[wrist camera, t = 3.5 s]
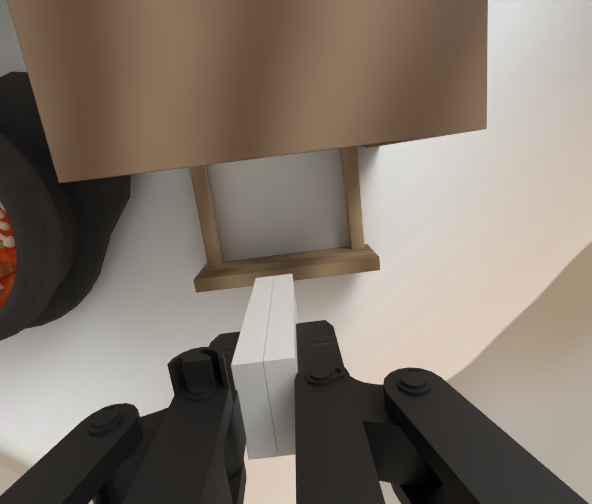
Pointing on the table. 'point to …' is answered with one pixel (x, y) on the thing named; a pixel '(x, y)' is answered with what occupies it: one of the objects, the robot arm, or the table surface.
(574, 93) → the table surface
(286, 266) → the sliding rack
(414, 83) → the cubby cabinet
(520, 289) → the table surface
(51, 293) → the casserole
